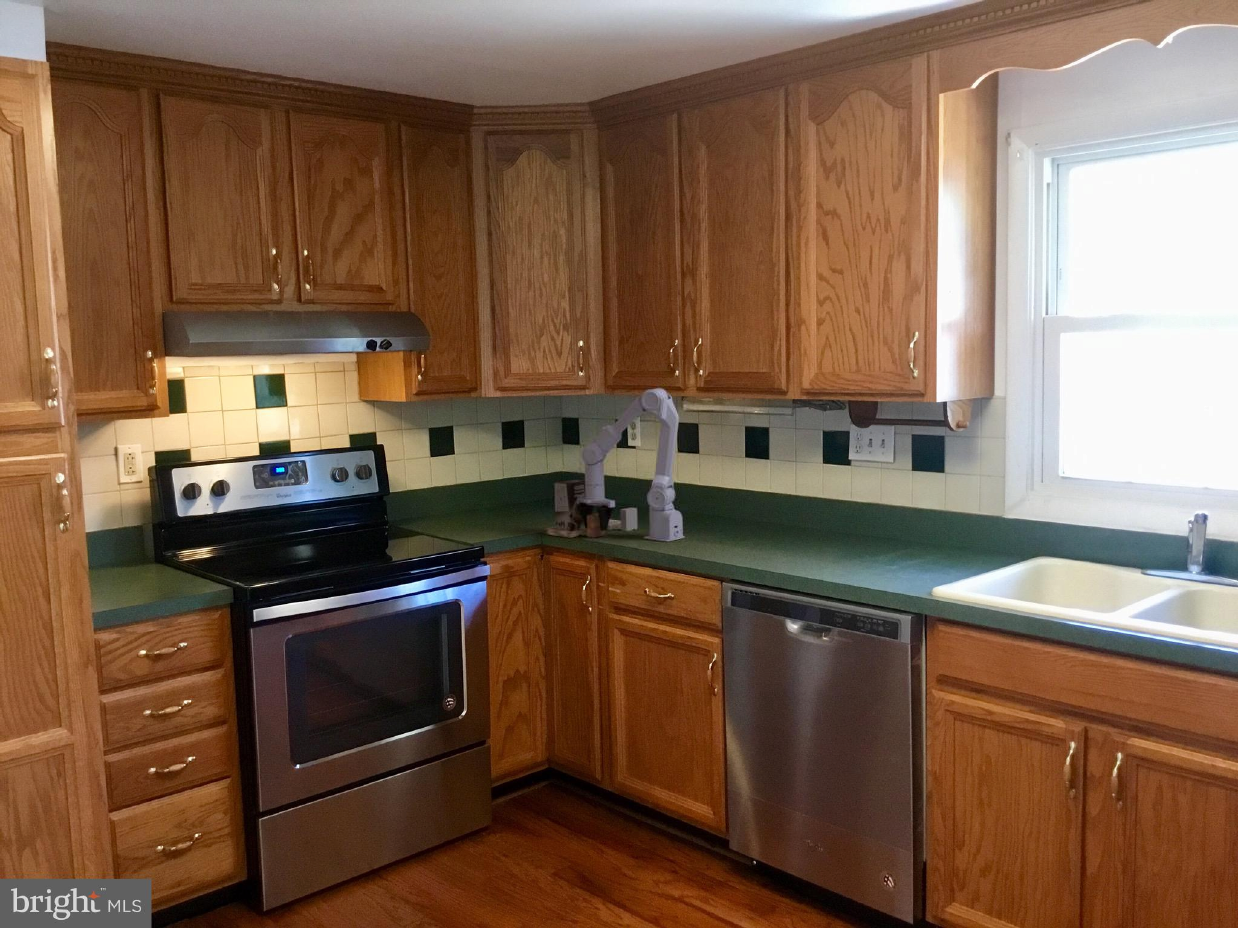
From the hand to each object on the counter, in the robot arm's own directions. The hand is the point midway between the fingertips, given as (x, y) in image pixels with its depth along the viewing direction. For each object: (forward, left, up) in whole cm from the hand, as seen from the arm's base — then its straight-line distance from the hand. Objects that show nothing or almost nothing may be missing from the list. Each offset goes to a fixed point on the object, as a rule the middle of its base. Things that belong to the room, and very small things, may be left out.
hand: (596, 529), depth 328 cm
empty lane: (+7, -15, -2) cm, 16 cm away
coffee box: (+10, 0, -2) cm, 10 cm away
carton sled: (+7, 0, -2) cm, 7 cm away
